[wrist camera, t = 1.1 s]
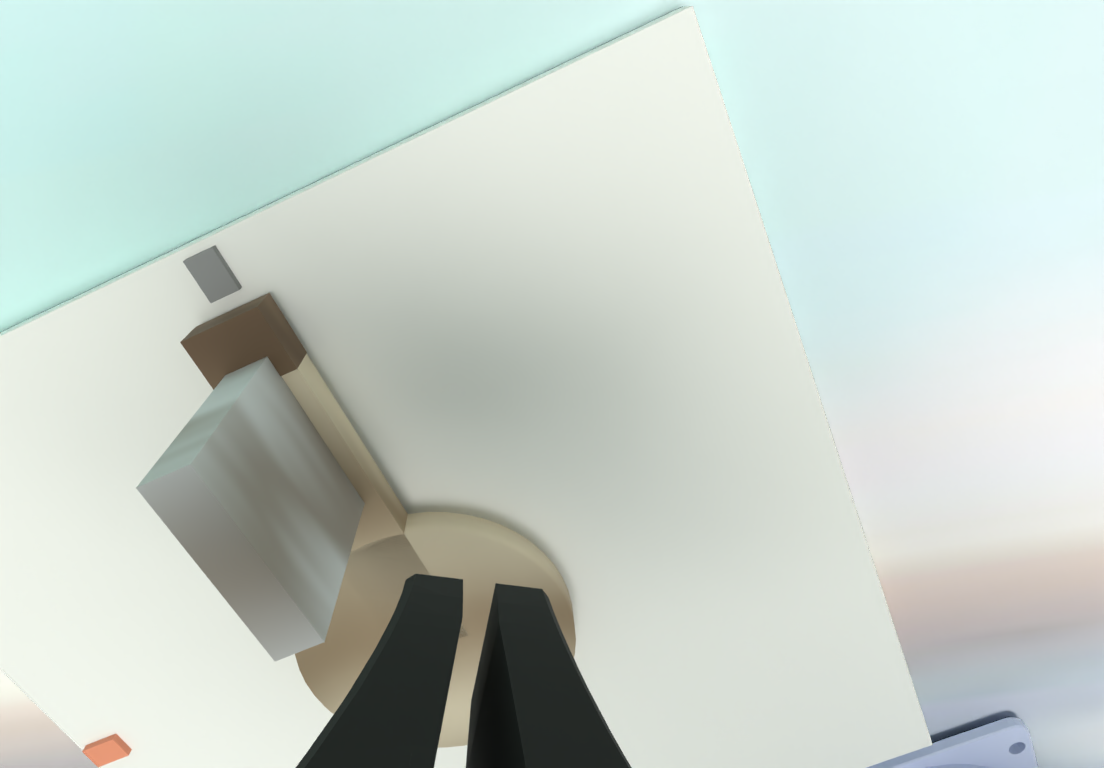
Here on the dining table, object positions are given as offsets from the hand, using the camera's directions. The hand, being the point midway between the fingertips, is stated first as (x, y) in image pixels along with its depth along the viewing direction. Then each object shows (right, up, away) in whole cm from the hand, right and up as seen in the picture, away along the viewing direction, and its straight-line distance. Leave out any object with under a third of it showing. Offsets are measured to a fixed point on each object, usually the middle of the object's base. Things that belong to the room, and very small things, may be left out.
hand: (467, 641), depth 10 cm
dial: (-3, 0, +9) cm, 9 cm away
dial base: (-2, -2, +11) cm, 12 cm away
